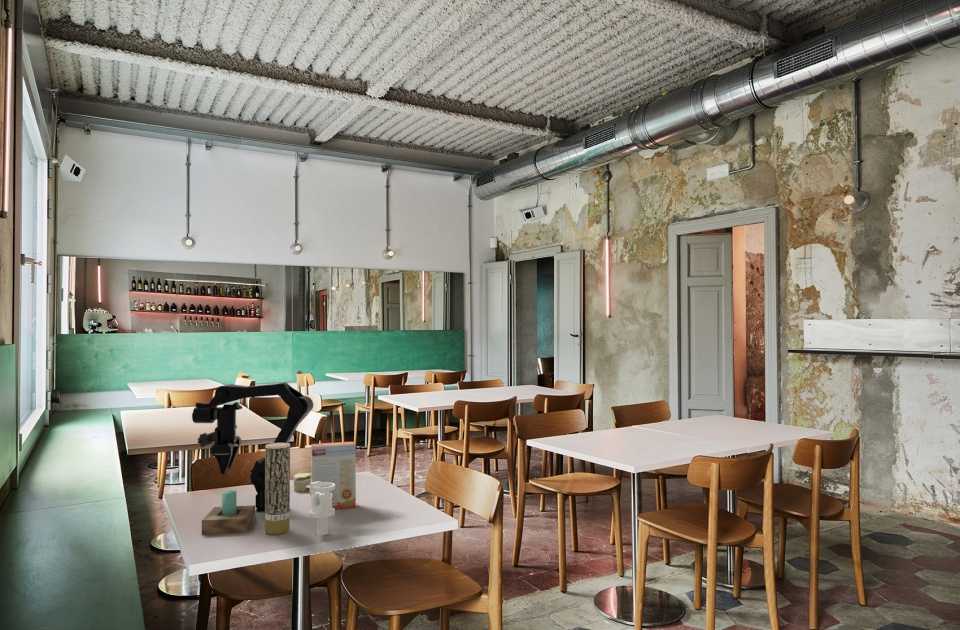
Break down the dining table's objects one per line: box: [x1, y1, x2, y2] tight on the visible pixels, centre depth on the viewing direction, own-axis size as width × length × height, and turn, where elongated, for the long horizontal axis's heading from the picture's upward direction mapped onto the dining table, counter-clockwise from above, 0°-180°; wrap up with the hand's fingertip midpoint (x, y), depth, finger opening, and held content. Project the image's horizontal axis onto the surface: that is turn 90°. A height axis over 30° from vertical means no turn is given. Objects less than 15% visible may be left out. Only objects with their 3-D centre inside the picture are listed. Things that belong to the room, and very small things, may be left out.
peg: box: [221, 490, 237, 516], centre depth 192 cm, size 4×4×10 cm
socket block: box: [201, 504, 256, 535], centre depth 192 cm, size 12×14×4 cm
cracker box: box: [310, 441, 357, 510], centre depth 212 cm, size 14×6×21 cm, turn 108°
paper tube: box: [264, 442, 291, 536], centre depth 186 cm, size 7×7×25 cm
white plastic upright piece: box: [309, 481, 336, 536], centre depth 184 cm, size 7×7×15 cm
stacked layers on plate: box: [292, 472, 311, 492], centre depth 236 cm, size 10×9×6 cm
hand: (225, 471), depth 211 cm, fingers open, 9 cm apart
